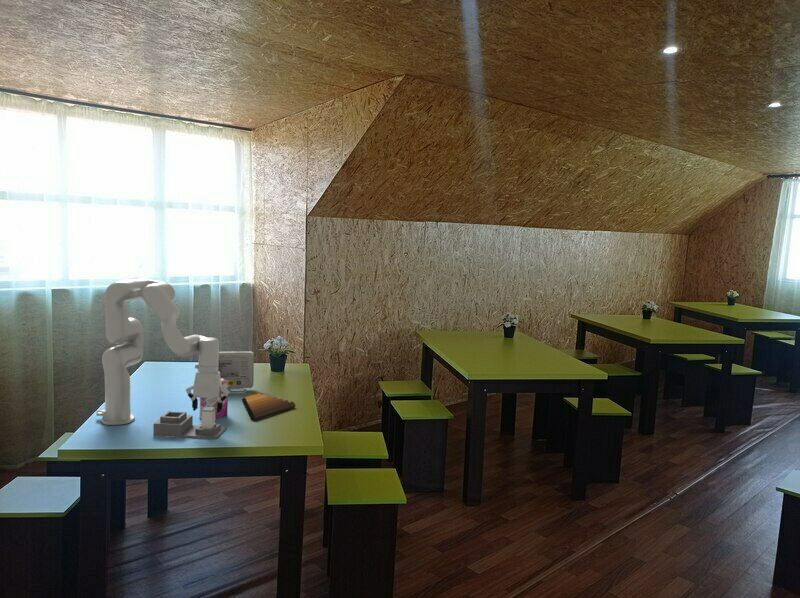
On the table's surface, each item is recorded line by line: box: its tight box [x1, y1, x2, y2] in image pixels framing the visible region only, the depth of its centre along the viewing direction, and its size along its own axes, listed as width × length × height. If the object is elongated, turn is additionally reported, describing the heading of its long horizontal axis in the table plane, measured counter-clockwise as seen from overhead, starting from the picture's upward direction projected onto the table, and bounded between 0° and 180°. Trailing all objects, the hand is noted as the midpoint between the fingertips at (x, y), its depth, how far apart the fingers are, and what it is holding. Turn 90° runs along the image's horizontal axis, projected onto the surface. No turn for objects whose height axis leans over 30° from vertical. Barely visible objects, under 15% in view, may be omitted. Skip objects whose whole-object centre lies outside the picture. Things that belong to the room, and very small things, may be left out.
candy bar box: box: [199, 378, 229, 421], centre depth 254 cm, size 11×5×16 cm, turn 141°
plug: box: [201, 407, 216, 429], centre depth 236 cm, size 4×4×9 cm
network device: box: [218, 350, 255, 394], centre depth 295 cm, size 26×9×20 cm, turn 105°
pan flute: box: [241, 392, 296, 422], centre depth 270 cm, size 25×3×25 cm
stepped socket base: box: [152, 410, 227, 440], centre depth 236 cm, size 25×12×7 cm, turn 89°
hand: (207, 410), depth 235 cm, fingers open, 9 cm apart
